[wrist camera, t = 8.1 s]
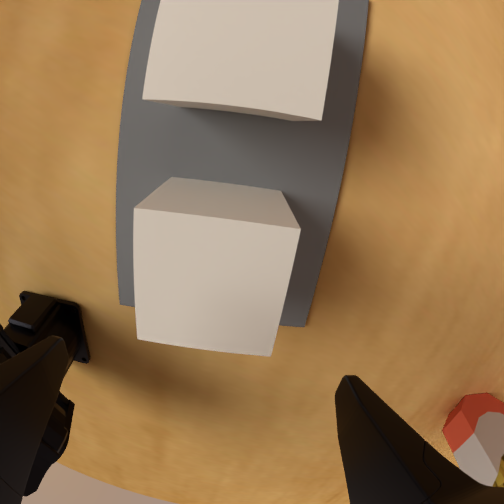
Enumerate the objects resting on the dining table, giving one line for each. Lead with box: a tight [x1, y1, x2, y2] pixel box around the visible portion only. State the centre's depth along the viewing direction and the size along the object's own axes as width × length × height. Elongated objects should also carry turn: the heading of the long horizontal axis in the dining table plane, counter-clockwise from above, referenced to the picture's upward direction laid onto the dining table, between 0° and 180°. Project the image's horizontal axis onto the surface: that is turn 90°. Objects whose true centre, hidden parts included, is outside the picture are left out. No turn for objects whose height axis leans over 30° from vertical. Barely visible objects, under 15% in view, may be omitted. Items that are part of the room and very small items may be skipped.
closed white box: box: [142, 0, 339, 121], centre depth 12 cm, size 7×7×7 cm
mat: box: [116, 0, 369, 327], centre depth 18 cm, size 24×14×1 cm, turn 172°
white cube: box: [133, 177, 301, 356], centre depth 16 cm, size 7×7×7 cm
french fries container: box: [442, 393, 504, 487], centre depth 22 cm, size 5×11×18 cm, turn 76°
